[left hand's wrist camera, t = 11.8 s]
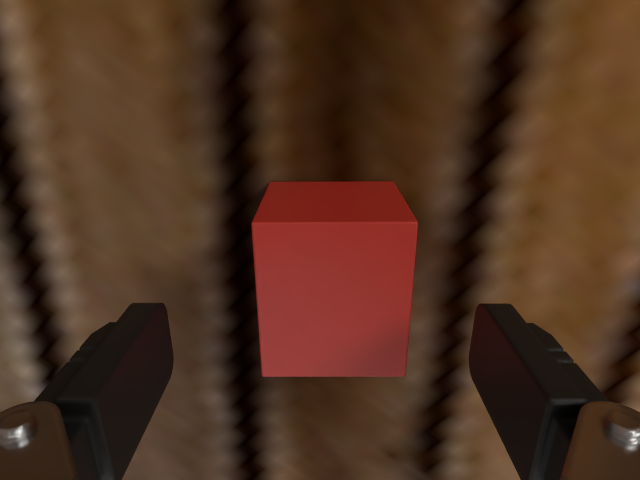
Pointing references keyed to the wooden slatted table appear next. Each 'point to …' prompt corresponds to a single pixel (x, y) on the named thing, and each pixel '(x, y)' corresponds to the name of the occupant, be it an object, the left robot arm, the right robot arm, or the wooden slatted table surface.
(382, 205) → the block
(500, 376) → the left robot arm
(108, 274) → the wooden slatted table surface
